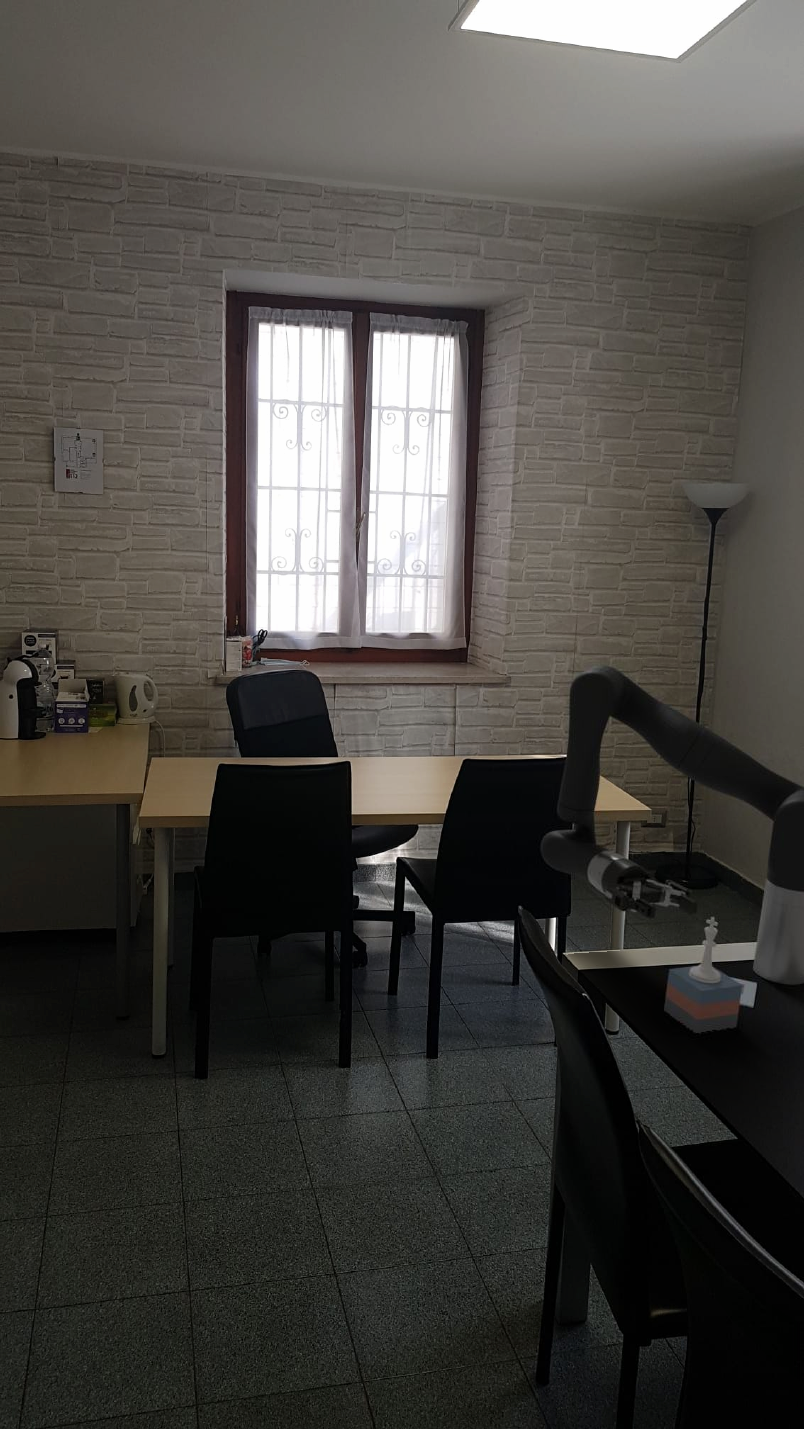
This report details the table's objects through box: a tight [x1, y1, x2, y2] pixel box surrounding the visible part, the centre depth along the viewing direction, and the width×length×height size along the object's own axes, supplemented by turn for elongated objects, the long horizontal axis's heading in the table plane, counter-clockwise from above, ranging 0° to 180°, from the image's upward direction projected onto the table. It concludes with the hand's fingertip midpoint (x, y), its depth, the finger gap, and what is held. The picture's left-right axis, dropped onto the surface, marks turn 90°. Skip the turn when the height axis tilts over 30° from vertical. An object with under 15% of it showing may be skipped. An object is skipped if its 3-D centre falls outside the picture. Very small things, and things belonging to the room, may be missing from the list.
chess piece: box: [689, 916, 721, 983], centre depth 169 cm, size 5×5×10 cm
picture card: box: [729, 976, 758, 1009], centre depth 183 cm, size 10×7×1 cm
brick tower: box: [663, 965, 742, 1034], centre depth 171 cm, size 8×8×7 cm
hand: (674, 911), depth 177 cm, fingers open, 8 cm apart
